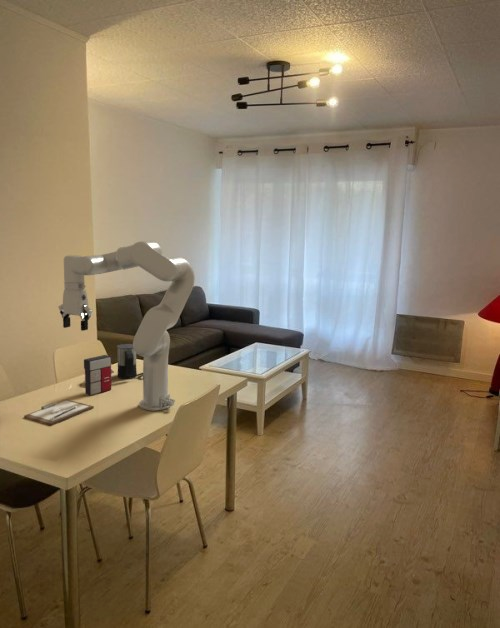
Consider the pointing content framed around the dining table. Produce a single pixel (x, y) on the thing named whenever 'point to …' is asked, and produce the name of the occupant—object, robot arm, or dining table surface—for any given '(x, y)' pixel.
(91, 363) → the grey and red box
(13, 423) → the dining table surface
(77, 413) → the clipboard
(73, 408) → the picture light
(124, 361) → the milk frother
